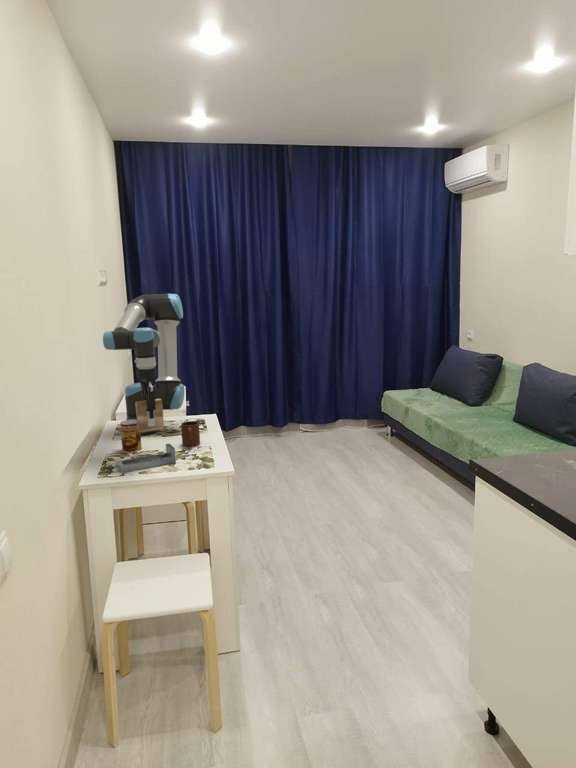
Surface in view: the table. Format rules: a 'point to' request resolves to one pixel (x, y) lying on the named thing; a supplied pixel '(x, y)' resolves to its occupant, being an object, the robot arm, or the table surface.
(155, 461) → the track
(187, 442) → the mug
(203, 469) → the table surface
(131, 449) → the canned food
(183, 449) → the table surface
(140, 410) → the door panel
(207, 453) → the table surface
